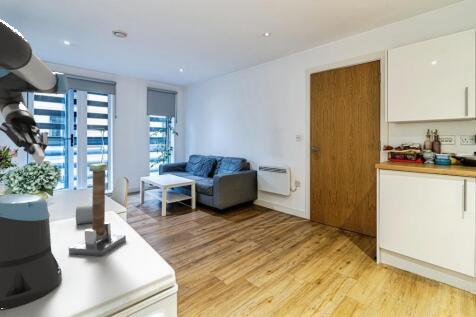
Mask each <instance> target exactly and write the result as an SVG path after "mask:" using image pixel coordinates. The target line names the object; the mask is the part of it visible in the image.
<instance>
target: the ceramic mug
mask: <svg viewBox="0 0 476 317" xmlns="http://www.w3.org/2000/svg"><path fill="white" fill-rule="evenodd" d="M88 223H92V205H81V206H80V205H78V206H76V209H75V224H76V225H81V224H82V225H83V224H88Z"/></svg>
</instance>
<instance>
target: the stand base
mask: <svg viewBox="0 0 476 317" xmlns="http://www.w3.org/2000/svg"><path fill="white" fill-rule="evenodd" d="M105 230H106V231H107V236H106V237H104V238H102V239H101V240H99V241H97V240H96V230H92V228H90V229H89V228H87V229H85V230H84V239H83V240H81V241H79V242H77V243H75V244H74V245H71V246H70V247H68V254H69V255H78V256H89V257H103V256H105V255H107V254H108V253H110V252H111V251H112V250H113V251H114V249H116V248H117V247H119V246H121V245H122V244H123V243H125V242H126V241H127V235H122V234H112V230H111V223H110V222H105Z"/></svg>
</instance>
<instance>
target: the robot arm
mask: <svg viewBox="0 0 476 317" xmlns="http://www.w3.org/2000/svg"><path fill="white" fill-rule="evenodd" d="M68 92H69V82H68V77H67V75H66V74H65V73H64V72H58V71H55V72H53V71H52V70H51V69H50V68H49V67H48V66H47V65H46V64H45V63H44V62H43V61H42V60H41V59H40V58H39V57H38V56H37V55H36V54H35V53H34V52H33V49H32V46H31V44H30V43H29V41H28V40H27V39H26V38H25V37H24V36H23V35H22V34H21V33H20V32H19V31H18V30H17V29H15V28H14V27H12V26H11V25H9V24H8V23H6V22H5V21H3V20H1V19H0V113H1V116H2V117H3V119H4V122H1V123H2V124H1V125H0V131H2V132H3V133H4V134H5V135H6V136H7V137H8V139H10V140H11V141H12V143H14V145H15V146H16V147H17V148H23V151H24V152H25V153H27V154H29V155H31V156H32V159H33V160H34V162H35V164H42V163H43V161H44V160H45V158H46V154H45V151H46V149H47V147H48V146H49V143H48V136H49V132H48V131H40V130H41V129H40V128H38V126H37V122H36V119H35V118H34V117H33V115H32V113H31V111H30V109H29V108H28V105H27V104H26V101H25V99H24V96H23V93H31V94H32V93H33V94H48V95H66V94H68ZM50 225H51V224H50V213H49V207H48V201H47V200H46V199H45V198H44V197H43V196H39V195H36V194H29V193H28V194H25V193H8V194H0V310H2V309H1V308H6V309H10V308H15V307H19V306H22V305H26V304H28V303H30V302H33V301H35V300H38V299H40V298H42V297H43V296H46V295H47V294H49V293H50V292H52V291H53V290H55V289H56V288H57V287H58V286H59V285H60V284H61V282H62V280H63V274H62V269H61V267H60V265H59V264H58V261H57V259H56V258H55V256H54V254H53V252H52V240H51V228H50Z"/></svg>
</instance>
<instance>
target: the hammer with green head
mask: <svg viewBox="0 0 476 317" xmlns="http://www.w3.org/2000/svg"><path fill="white" fill-rule="evenodd" d="M88 169H89V172H92V205H91V206H92V222H91V223H92V227H91V230H96V240H97V241H99V240H101V239H102V238H104V237H106V236H107V231H106V230H105V221H106V218H105V217H106V214H105V213H106V212H105V210H106V209H105V208H106V204H105V203H106V202H105V201H106V171H108V170H109V164H108V163H102V162H101V163H93V164H89V168H88Z"/></svg>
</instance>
